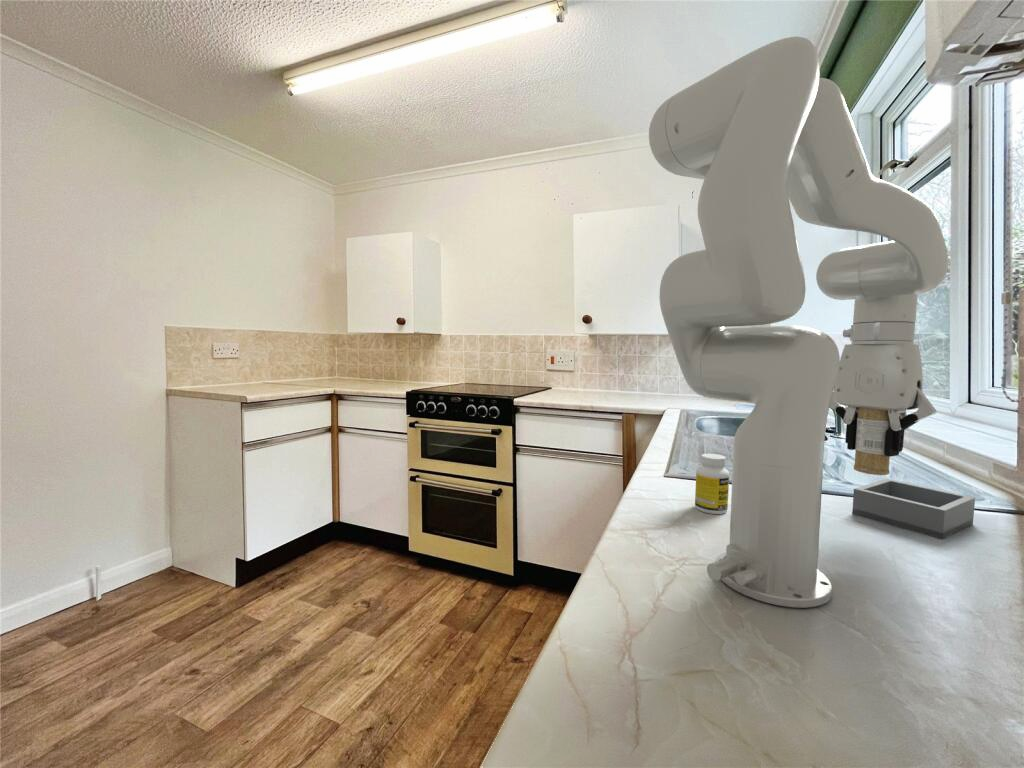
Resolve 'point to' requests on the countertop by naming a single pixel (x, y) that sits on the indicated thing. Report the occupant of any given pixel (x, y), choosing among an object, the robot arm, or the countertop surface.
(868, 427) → the sprinkles bottle
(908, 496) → the charcoal bin
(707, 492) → the supplement bottle
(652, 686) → the countertop surface
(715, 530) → the countertop surface
